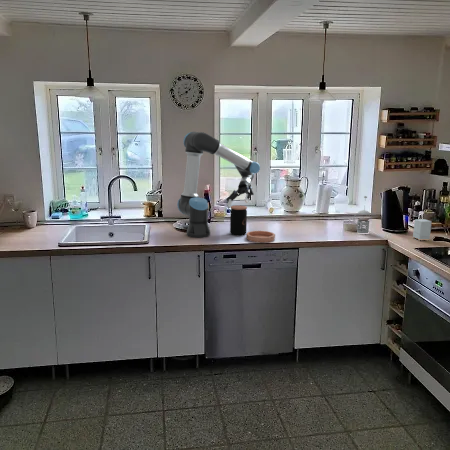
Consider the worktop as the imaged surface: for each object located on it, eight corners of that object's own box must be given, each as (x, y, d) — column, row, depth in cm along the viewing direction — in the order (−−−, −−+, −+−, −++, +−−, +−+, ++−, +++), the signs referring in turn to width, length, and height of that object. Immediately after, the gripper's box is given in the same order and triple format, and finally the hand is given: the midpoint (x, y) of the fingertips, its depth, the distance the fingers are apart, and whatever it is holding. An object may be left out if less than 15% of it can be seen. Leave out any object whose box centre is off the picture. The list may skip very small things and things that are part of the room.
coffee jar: (244, 236, 277) (245, 208, 273) (228, 235, 279) (229, 207, 275) (247, 232, 287) (248, 205, 283) (231, 231, 289) (232, 204, 285)
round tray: (251, 242, 262) (251, 238, 261) (243, 235, 279) (243, 231, 278) (278, 241, 266) (278, 237, 265) (269, 234, 282) (269, 230, 282)
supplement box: (429, 241, 274) (432, 221, 271) (419, 241, 273) (421, 221, 270) (422, 238, 281) (425, 218, 278) (412, 238, 280) (414, 219, 277)
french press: (366, 235, 285) (370, 197, 279) (349, 232, 292) (352, 195, 286) (372, 232, 293) (375, 195, 287) (355, 229, 300) (358, 194, 294)
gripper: (262, 184, 294) (256, 203, 279) (232, 193, 307) (224, 212, 292) (257, 175, 290) (250, 194, 275) (226, 185, 303) (218, 204, 288)
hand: (236, 204), depth 284 cm, fingers open, 13 cm apart
